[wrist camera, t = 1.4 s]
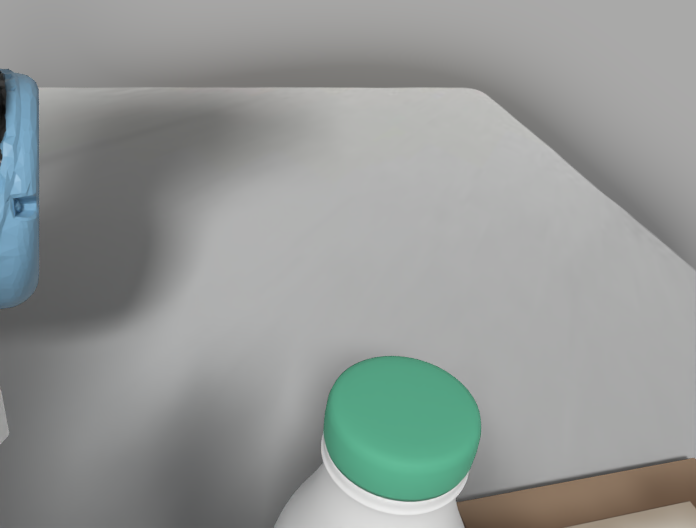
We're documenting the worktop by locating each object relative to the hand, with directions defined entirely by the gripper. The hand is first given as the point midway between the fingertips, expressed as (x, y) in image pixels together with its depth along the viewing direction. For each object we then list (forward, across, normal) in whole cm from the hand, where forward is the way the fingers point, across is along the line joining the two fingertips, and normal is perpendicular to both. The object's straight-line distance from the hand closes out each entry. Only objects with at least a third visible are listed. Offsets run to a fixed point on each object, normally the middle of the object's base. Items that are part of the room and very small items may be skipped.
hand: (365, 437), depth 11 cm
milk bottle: (+9, 0, -25) cm, 27 cm away
